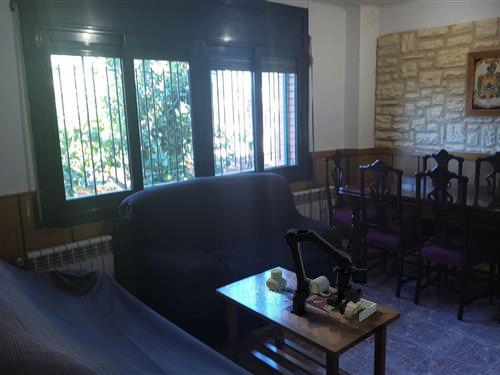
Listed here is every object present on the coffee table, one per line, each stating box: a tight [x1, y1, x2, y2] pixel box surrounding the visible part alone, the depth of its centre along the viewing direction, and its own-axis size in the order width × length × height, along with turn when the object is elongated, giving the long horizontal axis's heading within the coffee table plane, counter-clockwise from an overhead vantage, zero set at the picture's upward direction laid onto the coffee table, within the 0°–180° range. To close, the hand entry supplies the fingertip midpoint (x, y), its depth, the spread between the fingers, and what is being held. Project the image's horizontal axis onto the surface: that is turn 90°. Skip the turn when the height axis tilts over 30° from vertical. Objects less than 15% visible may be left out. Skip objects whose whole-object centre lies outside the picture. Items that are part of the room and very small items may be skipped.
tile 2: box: [348, 301, 362, 313], centre depth 200 cm, size 5×5×3 cm
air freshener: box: [265, 268, 288, 292], centre depth 223 cm, size 11×8×10 cm
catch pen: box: [328, 298, 377, 322], centre depth 199 cm, size 14×17×4 cm
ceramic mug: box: [311, 275, 332, 298], centre depth 217 cm, size 11×8×8 cm
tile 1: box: [343, 304, 358, 318], centre depth 196 cm, size 5×5×3 cm
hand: (342, 314), depth 193 cm, fingers closed
